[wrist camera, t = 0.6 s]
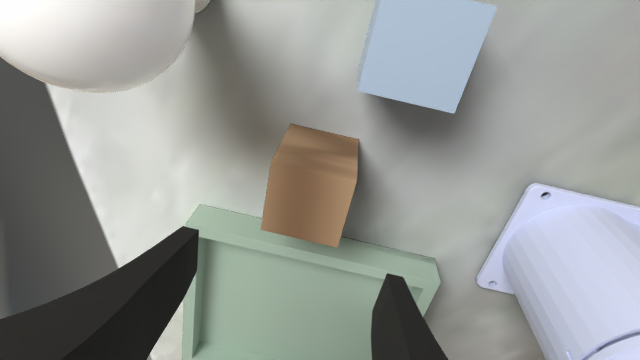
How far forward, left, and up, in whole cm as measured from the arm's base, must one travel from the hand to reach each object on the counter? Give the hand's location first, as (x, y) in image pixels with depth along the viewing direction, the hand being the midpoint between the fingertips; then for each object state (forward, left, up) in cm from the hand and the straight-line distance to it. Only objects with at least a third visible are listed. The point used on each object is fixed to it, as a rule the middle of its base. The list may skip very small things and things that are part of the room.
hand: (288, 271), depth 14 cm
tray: (-1, +12, -9) cm, 15 cm away
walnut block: (0, 0, -9) cm, 9 cm away
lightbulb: (+8, -8, -10) cm, 15 cm away
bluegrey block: (-3, -8, -9) cm, 13 cm away
